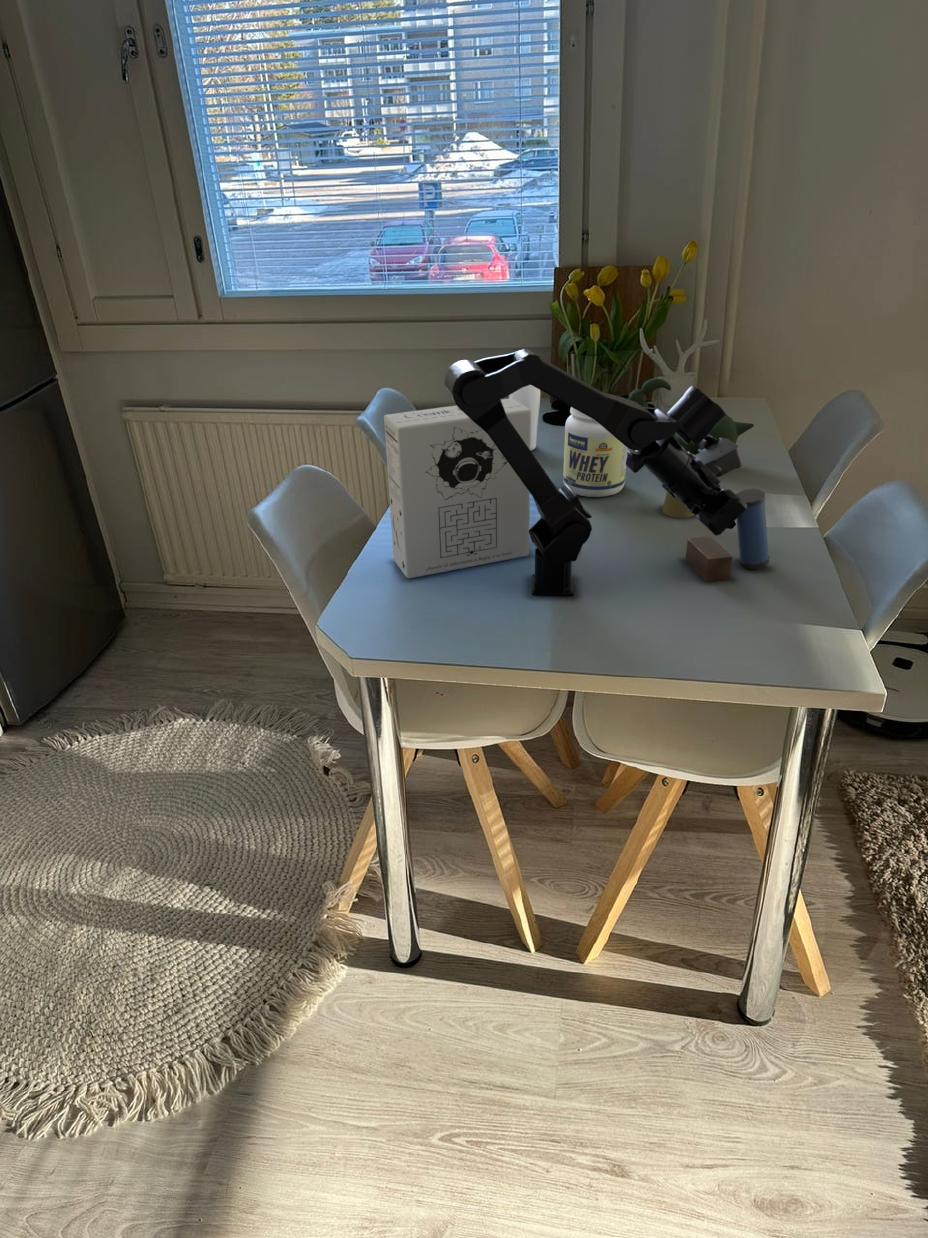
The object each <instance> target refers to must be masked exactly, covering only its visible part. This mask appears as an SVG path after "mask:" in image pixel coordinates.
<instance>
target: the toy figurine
mask: <svg viewBox="0 0 928 1238" xmlns="http://www.w3.org/2000/svg"><path fill="white" fill-rule="evenodd" d="M657 389H665V390H667V391H672V386H671V384H669V382H668V381H666V380H665V379H663V378H657V377H655V378H651V379H647V380H646V381H644V382H643V384H642V386H641V388H636V389H633V390H632V391H631V392H630V393H629V394H628V398H627V399H629V400H632V401H634V402H637V403H638V404H640V405H641V406H642V407H647V408H650V407H649V404H648V402H646V400H647V395H649V394H652V393H653V392H654V391H656V390H657ZM726 415H727V416H726V417H725V418H724V419H723V420H722V421H721V422H720V423H719V424H718V425H717V426H716V427H715V428H714V429H713V430H712V431H711V432H710V433H709V434H710V435H711V436H713V437H714V438H715V439H717V440H718V441H719V440H720V439H719V438H721V437H722V438H723V439H729V440H731V441H732V442H734V443H735V444H737V442H738V438H739V437H740V436H741V435H743V434H744V433H746V432H748V431H749V430H751V429H752V428H754V427H755V424H754V423H751V422H739V421H735V420H734V419H733V418H732V417H731V416H730V415H728V414H726ZM672 437H673V438H674V439H675V440H676V441H677V442H678V443H679V444H680V445H681V446H682V447H683V448H684V449H685V450H686V451H687V452H690V453H691V454H694V455H696V454H698V453H699V451H698V450H699V447H700V443H699V444H696V445H694V444H693V443H692V442H691V443H690V444H689V445H687V444H686V443H685V442H684V441H682V440H681V439H680V438H679V437H678V436H677V435H676V434H674V435H673V436H672Z"/></svg>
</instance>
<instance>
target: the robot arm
mask: <svg viewBox="0 0 928 1238" xmlns="http://www.w3.org/2000/svg"><path fill="white" fill-rule="evenodd" d="M443 384H444V388H445V390H446V392H447V394H448V395H449V396H450V398H451V399H452V401H453V402H454V404H455V406H456V405H457V406H458V408H459V409H460V410H462V411H463V412H464V413H465V414H466V415H467V416H468V417H469V418H470V419H471V420H472V421H473V422H474V423H476V424H477V425H478V426H479V427H480V428H481V429H483V430H484V431H485V432H486V433H487V434H488V435H489V437H490V438H491V439H492V441H493V442H494V444H495V445H496V446H497V448H498V449H499V451H500V452H501V453H502V455H503V456H504V457H505V459H506V460H507V462H508V463H509V464H510V466H511V467H512V468H513V470H514V471H515V473H516V474H517V475H518V477H519V478H520V480H521V481H522V482H523V484H524V485H525V486H526V488H527V489H528V491H529V492H530V496H532V498H533V501H534V503H535V506H536V509H537V511H538V513H539V516H540V518H539V519H538V520H537V522H535V523H534V524H533V525H532V526H531V527H530V528H529V538H530V540H531V542H532V543H533V544H534V546H535V547H536V548H535V549H534V572H533V573H534V574H532V575H531V595H532V596H535V597H537V596H538V597H574V596H575V586H574V576H573V575H572V566H573V562H576V561H577V560H578V557H579V554H580V552H581V550H582V548H583V545H584V544H586V542H587V541H588V540H589V538H590V536H591V533H592V531H593V528H592V527H593V526H592V523H591V521H590V520H589V519H592V517H593V516H592V514H591V513H590V512H589V511H588V510H587V509H586V507H585V506H584V505H583V504H582V502H581V500H580V498H579V495H577V494H575V493H574V492H573V490H572V489H571V488H570V487H569V486H568V485H567V483H565V484H564V483H563V485H562V486H561V487H560V488H559V487H558V486H557V485H556V484H555V483H554V482H553V481H552V479H551V478H550V476H549V475H548V473H547V472H546V470H545V469H544V468H543V466H542V465H541V463H540V462H539V461H538V459H537V457H536V456H535V455H534V453H533V452H532V450H531V451H530V449H529V448H528V446H527V445H526V444H525V442H524V441H523V439H522V438H521V436H520V435H519V434H518V432H517V431H516V429H515V428H514V426H513V425H512V424H511V422H510V421H509V419H508V417H507V415H506V413H505V410H504V407H503V404H502V402H501V400H502V399H506V398H507V397H509V395H510V394H512V393H514V392H516V391H517V390H519V389H521V388H523V387H525V386H528V385H532V386H534V387H536V388H538V389H539V390H540V392H543V393H545V394H546V395H548V396H551V397H552V398H553V399H555V400H558V401H560V402H561V403H563V404H565V405H567V406H569V407H570V408H571V407H572V408H574V409H576V410H578V411H580V412H581V413H583V414H585V415H587V416H589V417H590V418H592V419H594V420H596V421H597V422H598V423H599V424H600V425H601V426H603V427H604V428H605V429H606V430H607V431H608V432H610V433H611V434H612V435H613V436H614V437H615V438H617V439H618V440H619V441H620V442H621V443H623V444H624V445H625V446H626V447H627V448H628V449H627V459H626V467H627V468H628V469H629V470H630V471H632V472H633V473H634V474H637V473H638V472H639V471H640V470H641V469H643V468H644V466H645V467H646V469H648V470H649V472H651V473H652V474H653V475H654V476H655V477H656V478H657V480H658V481H659V482H660V483H661V487H662V488H663V489H664V490H665V491H666V493H667V492H668V493H669V494H670V495H672V496H673V497H674V498H676V497H677V498H678V499H679V500H680V501H681V502H682V503H683V504H684V505H685V508H686V509H688V510H689V511H690V512H691V513H693V514H695V515H694V517H695V518H696V519H698V521H700V523H701V524H702V525H704V526H705V527H706V529H708V530H709V531H710V533H712V534H713V535H714V536H715V537H716V536H720V535H721V534H722V533H724V532H725V531H726V530H727V529H729V530H732V529H734V528H735V527H737V522H736V521H737V518H738V517H739V516H740V515H741V514H742V513H743V512H744V511H745V510H746V509H747V504H746V503H745V502H744V501H743V500H742V499H741V498H740V497H739V496H738V495H736V494H737V493H735V492H734V491H732V490H731V489H726V488H725V487H723V488H721V484H720V483H721V482H722V481H721V479H719V478H720V477H722V476H724V475H726V474H728V473H729V472H732V471H734V470H736V469H740V468H741V467H743V465H744V461H743V458H742V454H741V451H740V448H739V445H738V444H737V443H736V444H735V443H734V442H732V441H731V440H729V439H723V438H722V437H721V438H719V439H720V440H719V441H718V440H717V439H715V438H714V437H713V436H711V435H710V434H709V433H710V432H711V431H712V430H713V429H714V428H715V427H716V426H717V425H718V424H719V423H720V422H721V421H722V420H723V419H724V418H725V417H726V416H727V415H728V414H727V413H726V412H725V410H724V409H723V408H722V407H721V406H720V405H719V404H718V403H716V402H715V401H713V400H712V399H711V398H710V397H709V396H708V395H706V394H705V393H704V392H703V391H702V390H701V389H700V388H699V387H697V386H696V385H694V384H692V385H690V387H689V388H688V389H686V391H685V392H684V393H683V396H681V398H680V399H678V400H677V402H675V404H674V405H673V406H672V407H671V408H670V409H669V410H668V411H667V412H666V411H665V410H663V409H661V408H659V407H649V408H647V407H642V406H641V405H640V404H638V403H637V402H634V401H632V400H629V399H628V398H626V397H622V396H619V395H616V394H612V393H611V394H610V393H606V392H603V391H600V390H599V389H596V388H595V387H594V386H592V385H590V384H588V383H587V382H585V381H583V380H581V379H579V378H578V377H576V376H574V375H572V374H570V373H569V372H567V371H565V370H564V369H562V368H560V367H559V366H556V365H554V364H553V363H551V362H549V361H548V360H546V359H544V358H542V357H541V356H540V355H538V354H537V353H536V352H535V351H533V350H531V349H528V348H522V349H520V350H517V351H513V352H511V353H508V354H501V355H496V356H490V357H485V358H482V359H478V360H476V361H474V360H469V359H463V360H458V361H457V362H454V363H453V364H452V365H451V366H450V367H449V368H448V369H447V371H446V373H445V376H444V383H443ZM674 434H676V435H677V436H678V437H679V438H680V439H681V440H682V441H684V442H685V443H686V444H687V445H689V444H690V443H691V442H692V443H693V444H694V445H696V444H699V443H700V447H699V450H698V451H699V453H698V454H696V455H695V456H693V455H692V454H691V453H690V452H687V451H686V450H685V449H684V448H683V447H682V446H681V445H680V444H679V443H678V442H677V441H676V440H675V439H674V438H673V437H672V436H673V435H674Z"/></svg>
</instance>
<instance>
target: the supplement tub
mask: <svg viewBox="0 0 928 1238" xmlns="http://www.w3.org/2000/svg"><path fill="white" fill-rule="evenodd" d="M569 413H570V415H569V416H568V417H567V419H566V421H565V424H564V449H563V474H562V478H563V479H562V483H563V485H564V484H565V483H567V485H568V486H569V487H570V488H571V489H572V490H573V492H574V493H575V494H576V495H577V496H581V497H587V498H603V497H604V498H605V497H609V496H613V495H616V494H618V493H619V492H621V491H622V489H623V488H624V486H625V483H626V473H627V465H626V459H627V451H628V450H629V448H627V447H626V446H625V445H624V444H623V443H621V442H620V441H619V440H618V439H617V438H615V437H614V436H613V435H612V434H611V433H610V432H608V431H607V430H606V429H605V428H604V427H603V426H601V425H600V424H599V423H598V422H597V421H596V420H594V419H592V418H590V417H589V416H587V415H585V414H583V413H581V412H580V411H578V410H576V409H574V408H572V407H570V410H569Z"/></svg>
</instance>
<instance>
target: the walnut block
mask: <svg viewBox="0 0 928 1238" xmlns="http://www.w3.org/2000/svg"><path fill="white" fill-rule="evenodd" d="M686 542H687V543H686V551H685V558H684V559H685V562H686V563H687V564H688V565H689V566H690V567H691V569H693V570H694V572H696V574H697V575H698V576H700V578H702V580H703V581H704V583H708V582H709V583H710V582H717V581H727V580H730V579H731V578H730V577H731V571H732V563H733V555H731V553H729V552H728V551H727V550H726V549H725V548H724V547H723V546H722V545H721V544H720V543H719V542H718V541H716V539H714V538H713V537H712V536H711V535H708V536H699V537H691V538H687V541H686Z"/></svg>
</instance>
